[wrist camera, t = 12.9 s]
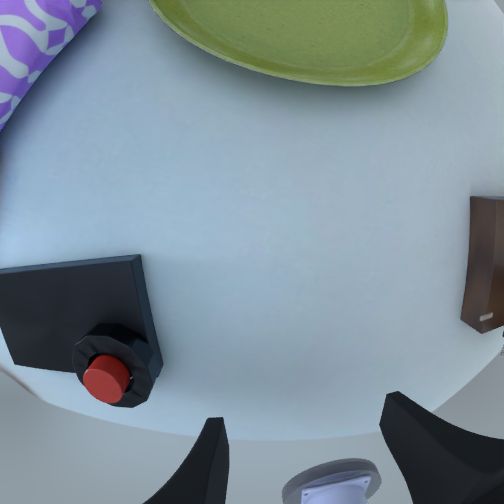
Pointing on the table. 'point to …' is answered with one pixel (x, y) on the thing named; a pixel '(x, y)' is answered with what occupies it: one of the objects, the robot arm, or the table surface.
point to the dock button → (107, 378)
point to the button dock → (82, 319)
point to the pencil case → (34, 41)
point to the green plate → (315, 36)
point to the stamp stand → (485, 266)
